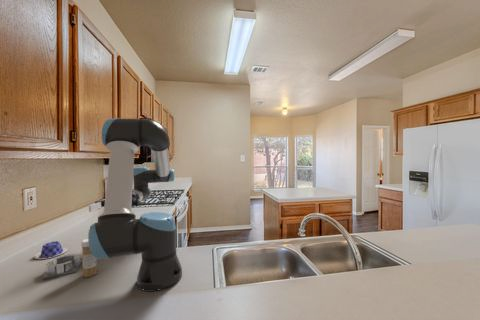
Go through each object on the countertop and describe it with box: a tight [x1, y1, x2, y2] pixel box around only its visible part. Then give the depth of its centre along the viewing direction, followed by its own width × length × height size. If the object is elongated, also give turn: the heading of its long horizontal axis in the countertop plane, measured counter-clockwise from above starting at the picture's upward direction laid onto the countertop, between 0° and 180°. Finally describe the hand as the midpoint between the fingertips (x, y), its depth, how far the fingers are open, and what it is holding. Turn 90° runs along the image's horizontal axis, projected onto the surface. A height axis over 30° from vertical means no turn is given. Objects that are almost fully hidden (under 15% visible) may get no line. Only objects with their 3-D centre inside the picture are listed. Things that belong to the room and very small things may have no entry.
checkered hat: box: [33, 240, 69, 260], centre depth 99 cm, size 12×12×5 cm
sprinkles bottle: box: [81, 237, 98, 278], centre depth 80 cm, size 5×5×14 cm
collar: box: [42, 253, 83, 280], centre depth 84 cm, size 10×10×4 cm
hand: (105, 208), depth 90 cm, fingers open, 13 cm apart
